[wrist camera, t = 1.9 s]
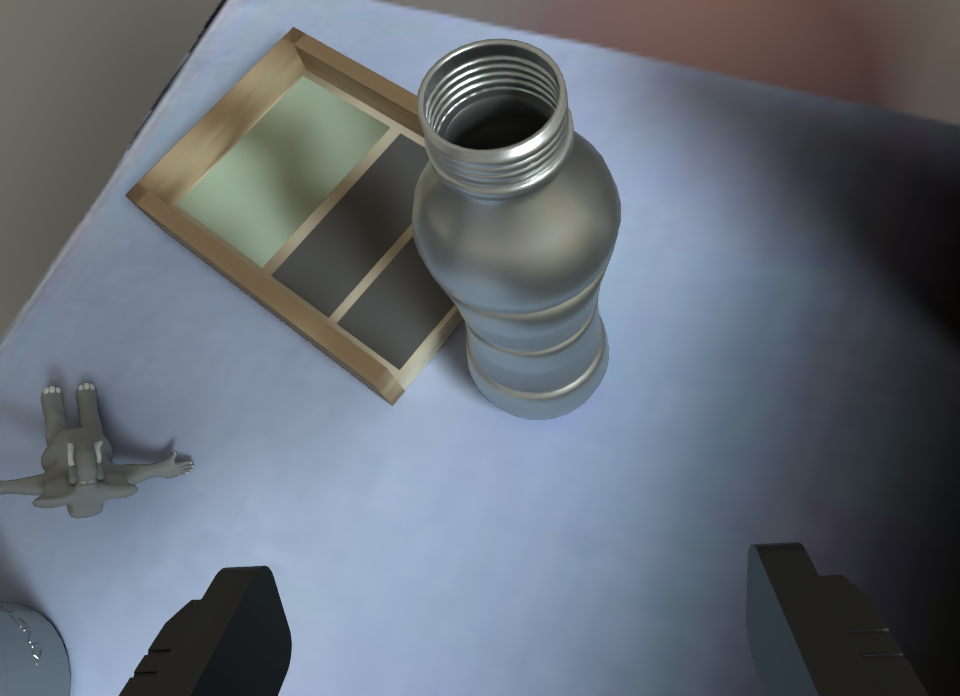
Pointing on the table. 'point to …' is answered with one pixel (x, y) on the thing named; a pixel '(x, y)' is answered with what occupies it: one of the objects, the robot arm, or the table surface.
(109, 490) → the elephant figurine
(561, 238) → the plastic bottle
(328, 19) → the table surface
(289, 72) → the box
